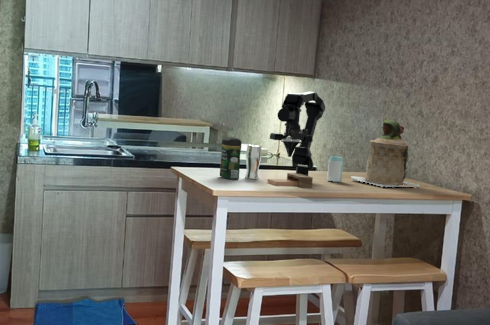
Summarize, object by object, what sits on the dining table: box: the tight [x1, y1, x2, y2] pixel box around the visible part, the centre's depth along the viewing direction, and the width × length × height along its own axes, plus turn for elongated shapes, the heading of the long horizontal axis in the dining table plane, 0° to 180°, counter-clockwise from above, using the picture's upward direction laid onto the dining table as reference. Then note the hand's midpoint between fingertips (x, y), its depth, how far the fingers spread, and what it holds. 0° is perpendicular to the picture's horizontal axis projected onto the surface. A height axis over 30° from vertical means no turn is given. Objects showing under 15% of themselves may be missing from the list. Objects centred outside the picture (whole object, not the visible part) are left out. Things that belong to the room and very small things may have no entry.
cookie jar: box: [350, 117, 420, 188], centre depth 322 cm, size 25×25×32 cm
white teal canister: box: [326, 155, 344, 183], centre depth 319 cm, size 7×7×12 cm
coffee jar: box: [219, 136, 242, 180], centre depth 300 cm, size 10×8×19 cm
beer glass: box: [244, 144, 263, 180], centre depth 307 cm, size 7×7×15 cm
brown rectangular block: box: [286, 172, 314, 188], centre depth 296 cm, size 13×6×4 cm, turn 22°
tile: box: [267, 178, 299, 187], centre depth 295 cm, size 8×15×2 cm, turn 113°
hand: (289, 156), depth 297 cm, fingers closed
